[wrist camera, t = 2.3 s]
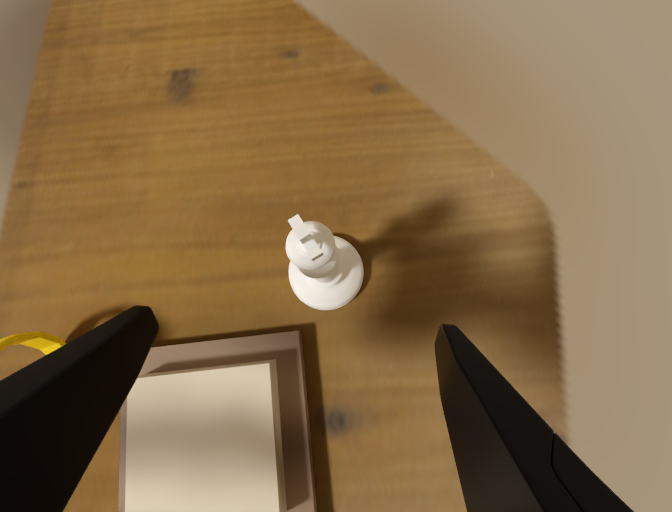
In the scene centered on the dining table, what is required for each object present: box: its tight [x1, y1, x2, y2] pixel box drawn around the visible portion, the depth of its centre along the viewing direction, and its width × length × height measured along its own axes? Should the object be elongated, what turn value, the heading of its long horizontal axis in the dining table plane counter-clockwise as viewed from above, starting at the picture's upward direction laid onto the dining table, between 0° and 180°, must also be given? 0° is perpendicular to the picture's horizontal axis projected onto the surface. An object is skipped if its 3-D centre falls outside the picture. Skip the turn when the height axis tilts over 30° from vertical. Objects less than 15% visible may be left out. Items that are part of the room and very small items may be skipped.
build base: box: [118, 330, 317, 512], centre depth 17 cm, size 11×11×2 cm
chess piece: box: [286, 214, 364, 310], centre depth 15 cm, size 5×5×10 cm
